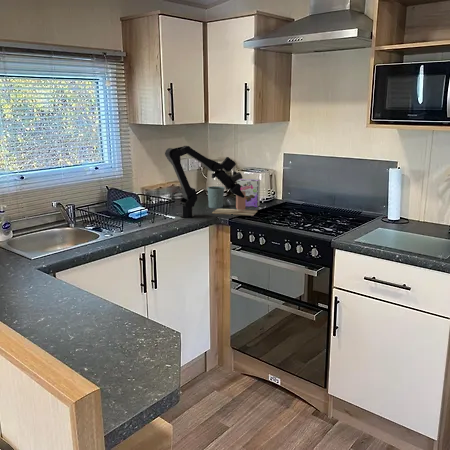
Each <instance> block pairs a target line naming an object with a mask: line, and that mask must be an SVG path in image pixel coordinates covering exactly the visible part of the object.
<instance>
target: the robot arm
mask: <svg viewBox="0 0 450 450" xmlns="http://www.w3.org/2000/svg"><path fill="white" fill-rule="evenodd" d="M164 155H165V157H166V159H167V161H168V162H169V164H171V166H172V168H173V170H174V172H175V174H176V177H177V179H178V182H179V184H180V186H181V189H182V191H181V192H182V198H181V199H180V200H179V205H180V206H181V213H182V215H181V216H180V215H179V218H184V219H185V218H186V219H191V218H193V217H195V214H193V210H194V209H193V208H194V207H195V204H196V202H197V201H198V193H197V190H196V188H193V187H191V185H190V182H189V181H188V178H187V175H186V173H185V171H184V168H183V165H182V162H181V156H184V155H188V156H189V157H191V158H193V159H194V160H196V161H197V162H198V163H200V164H201V165H202V166H203V167H204V168H205V169H206V170H208V171H209V172H213V173H211V179H215V178H216V179H217V180H218V181H219V182H220V183H221V184H222V185H223V186H225V187H224V189H227V190H228V191H229V192H230V193H231V194H232V195H235V196H236V195H237V196H240V197H242V198H244V197H245V196H244V195H243V193H242V192H241V190H240V188H241V185H240V184H238V183H236V181H237V180H239V179H244V177H243V175H242V172H241V171H238V172H237V171H233V172H232V175H230V174H228V173H230V172H231V171H232V170H233V168H235V166H236V165H237V164H236V162H235V160H232V159H231V158H230V157H229V156H226V157H225V158H224V160H223V161H222V162H221V163H219V162H218V161H215V160H213V159H211V158H208V157H206V156H204V155H203V154H201V153H200V152H198V151H196V150H195V149H193V148H192V147H191V146H189V145H183V146H178V147H174V148H173V147H169V148H167V149H166V150H165V152H164Z"/></svg>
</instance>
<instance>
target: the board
mask: <svg viewBox="0 0 450 450" xmlns="http://www.w3.org/2000/svg"><path fill="white" fill-rule="evenodd" d="M256 213H258V210H256V209H244V210H238V209H234V208H215V210H213V211H212V212H211V214H212V215H213V214H214V215H215V214H216V215H231V214H233V216H236V215H237V216H252V217H253V216H254V215H256Z"/></svg>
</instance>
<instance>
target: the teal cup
mask: <svg viewBox="0 0 450 450" xmlns="http://www.w3.org/2000/svg"><path fill="white" fill-rule="evenodd" d="M224 193H225V187H224V186H216V185H215V186H208V187H207V199H208V208H210V209H223V206H224Z"/></svg>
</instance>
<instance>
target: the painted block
mask: <svg viewBox="0 0 450 450" xmlns="http://www.w3.org/2000/svg"><path fill="white" fill-rule="evenodd" d="M241 192H242V193H243V195H244V196H245V197H244V198H242V197H240V196H237V195H235V208H236V209H238V210H246V206H245V203H246V192H245V191H241Z"/></svg>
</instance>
